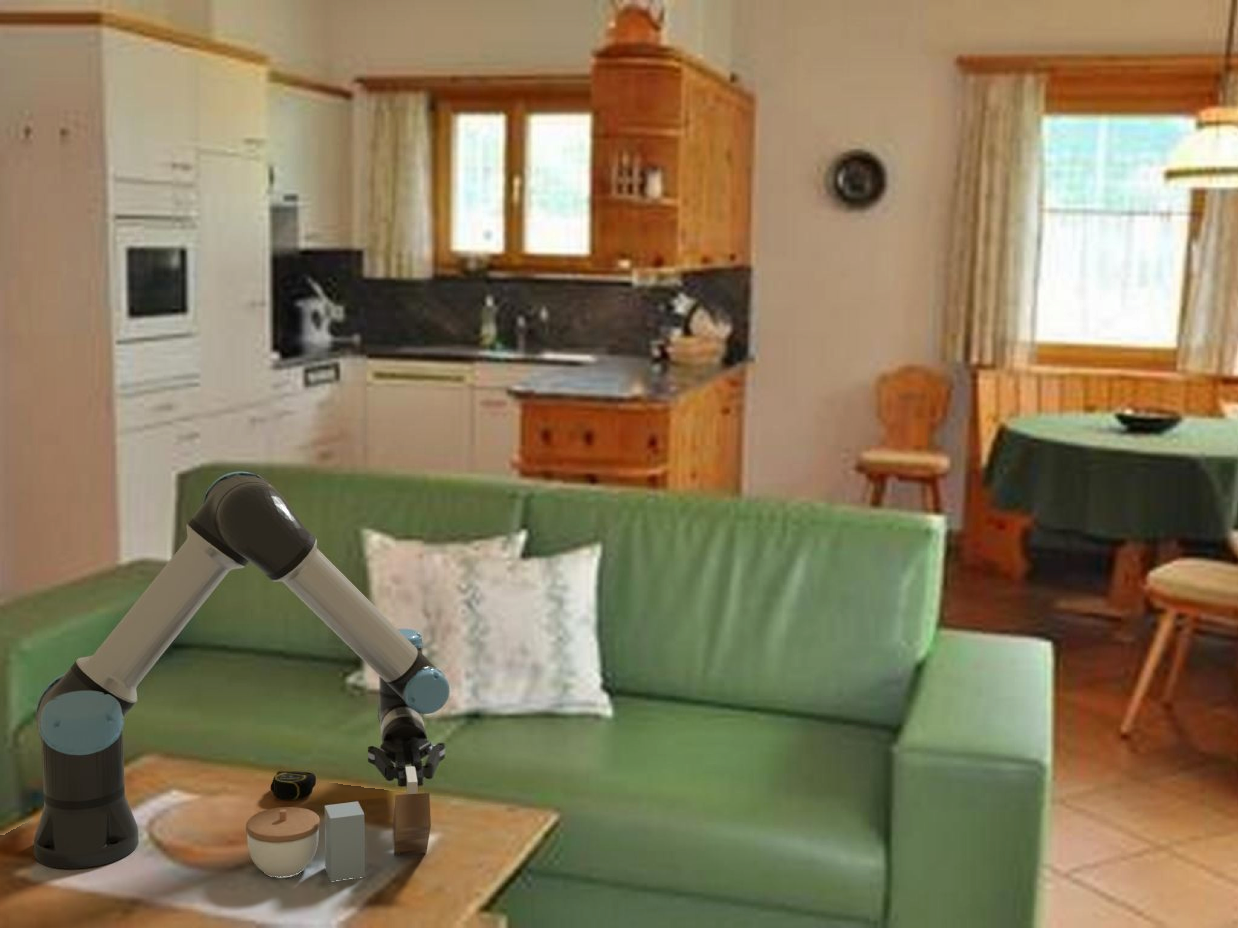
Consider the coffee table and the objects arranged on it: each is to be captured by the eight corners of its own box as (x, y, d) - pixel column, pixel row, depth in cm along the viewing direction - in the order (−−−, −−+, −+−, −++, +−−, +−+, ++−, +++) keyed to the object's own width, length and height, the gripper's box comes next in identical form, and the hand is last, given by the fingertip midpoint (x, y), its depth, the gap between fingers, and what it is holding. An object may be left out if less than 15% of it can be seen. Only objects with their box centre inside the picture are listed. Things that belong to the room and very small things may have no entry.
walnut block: (394, 854, 218) (396, 827, 207) (393, 823, 221) (395, 794, 210) (426, 852, 219) (430, 825, 208) (425, 821, 222) (429, 792, 211)
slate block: (331, 882, 208) (330, 818, 207) (325, 867, 213) (324, 805, 211) (364, 877, 210) (364, 813, 209) (358, 863, 215) (357, 801, 213)
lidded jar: (302, 889, 206) (301, 828, 205) (234, 880, 208) (233, 820, 207) (331, 858, 216) (330, 800, 215) (266, 850, 219) (265, 793, 217)
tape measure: (317, 789, 243) (317, 768, 242) (306, 805, 236) (306, 784, 236) (278, 788, 243) (277, 767, 243) (266, 803, 236) (266, 782, 236)
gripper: (442, 755, 243) (454, 810, 220) (365, 759, 240) (370, 815, 217) (442, 713, 242) (455, 764, 219) (365, 717, 239) (369, 769, 216)
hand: (412, 790), depth 218 cm, fingers closed
